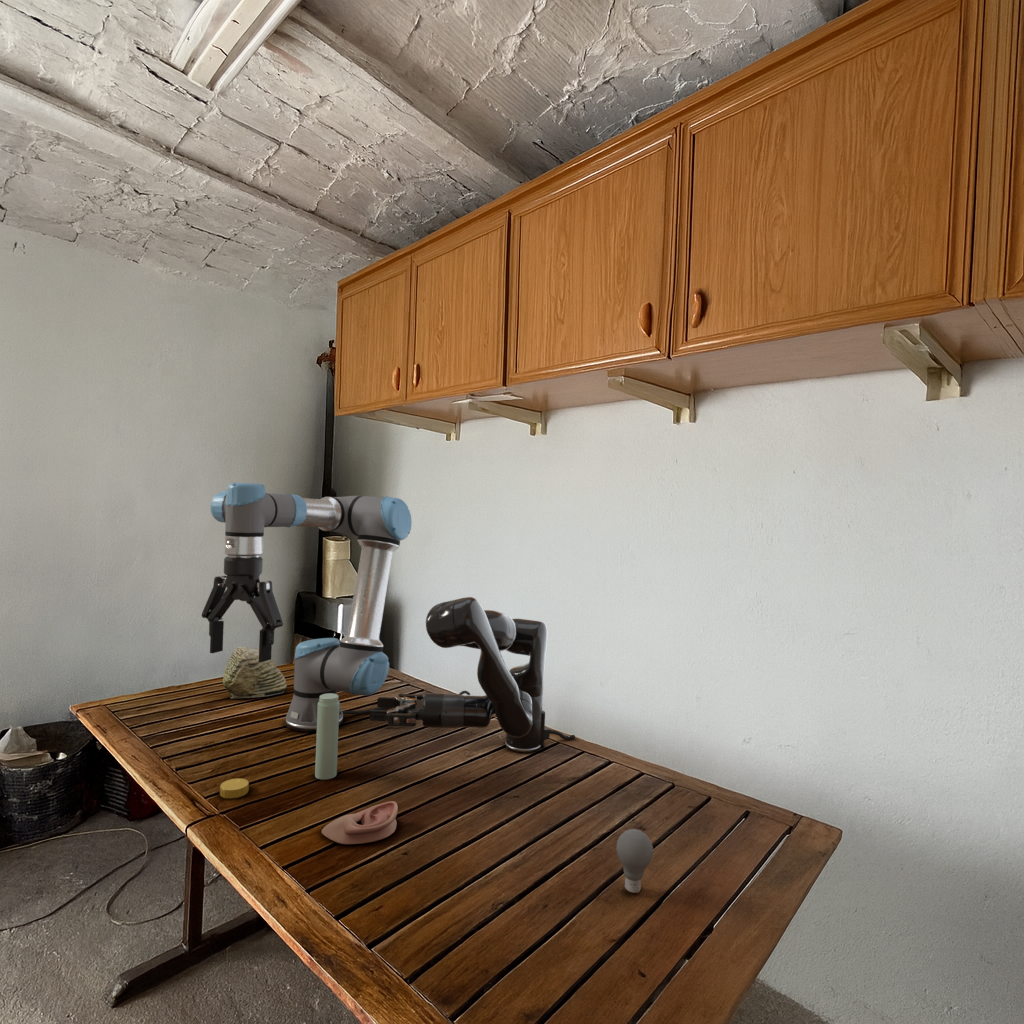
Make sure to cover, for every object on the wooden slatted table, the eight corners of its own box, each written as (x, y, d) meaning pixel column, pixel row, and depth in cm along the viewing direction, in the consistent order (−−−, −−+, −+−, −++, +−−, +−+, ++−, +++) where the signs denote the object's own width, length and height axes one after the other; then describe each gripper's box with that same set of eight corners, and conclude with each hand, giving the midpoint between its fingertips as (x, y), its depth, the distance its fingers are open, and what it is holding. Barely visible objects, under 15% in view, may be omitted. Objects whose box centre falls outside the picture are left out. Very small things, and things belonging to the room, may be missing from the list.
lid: (254, 789, 136) (254, 781, 136) (235, 800, 130) (235, 792, 130) (233, 784, 138) (233, 776, 138) (213, 795, 132) (213, 787, 132)
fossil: (218, 695, 195) (220, 647, 195) (278, 685, 208) (279, 640, 207) (228, 703, 189) (230, 653, 188) (289, 692, 201) (290, 645, 201)
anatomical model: (313, 818, 117) (342, 790, 128) (313, 839, 117) (341, 810, 128) (381, 829, 114) (404, 800, 125) (380, 850, 114) (403, 819, 125)
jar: (315, 780, 141) (318, 700, 141) (314, 771, 146) (317, 693, 145) (337, 778, 143) (340, 698, 142) (335, 769, 147) (338, 692, 147)
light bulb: (610, 879, 108) (613, 822, 108) (644, 879, 109) (647, 822, 109) (619, 902, 102) (622, 840, 102) (655, 901, 103) (658, 840, 103)
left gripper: (185, 552, 135) (182, 651, 135) (276, 561, 125) (272, 668, 126) (214, 550, 142) (211, 645, 142) (303, 559, 132) (299, 660, 132)
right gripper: (448, 684, 151) (380, 682, 151) (442, 705, 137) (367, 703, 137) (447, 715, 152) (379, 713, 151) (441, 739, 137) (366, 737, 137)
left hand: (240, 656), depth 134 cm, fingers open, 13 cm apart
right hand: (373, 708), depth 144 cm, fingers open, 8 cm apart
